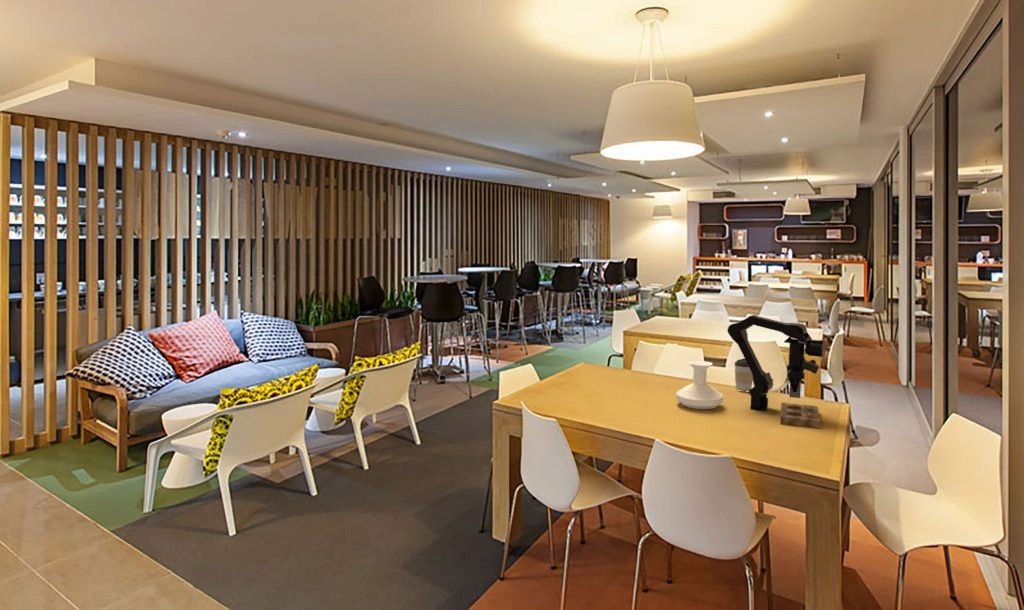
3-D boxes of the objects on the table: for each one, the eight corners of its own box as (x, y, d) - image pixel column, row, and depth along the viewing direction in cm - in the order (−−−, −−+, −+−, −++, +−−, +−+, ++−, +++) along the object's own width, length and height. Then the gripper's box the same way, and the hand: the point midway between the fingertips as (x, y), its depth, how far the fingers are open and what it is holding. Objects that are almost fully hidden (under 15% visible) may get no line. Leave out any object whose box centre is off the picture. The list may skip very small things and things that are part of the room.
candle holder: (706, 415, 249) (707, 370, 246) (666, 405, 264) (667, 362, 262) (732, 406, 261) (733, 363, 259) (692, 397, 277) (693, 356, 274)
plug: (789, 397, 247) (790, 377, 246) (789, 394, 250) (790, 375, 249) (800, 398, 245) (801, 378, 244) (799, 395, 248) (800, 376, 247)
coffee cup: (754, 393, 282) (755, 362, 281) (733, 391, 285) (734, 361, 284) (752, 388, 291) (754, 358, 289) (733, 387, 294) (734, 357, 292)
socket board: (780, 423, 236) (780, 415, 236) (781, 409, 256) (781, 401, 255) (819, 428, 230) (820, 419, 230) (817, 413, 250) (817, 404, 250)
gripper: (819, 360, 234) (817, 398, 235) (817, 351, 250) (815, 387, 252) (788, 357, 238) (786, 395, 240) (788, 349, 255) (786, 384, 257)
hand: (794, 390), depth 247 cm, fingers closed on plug, 4 cm apart
